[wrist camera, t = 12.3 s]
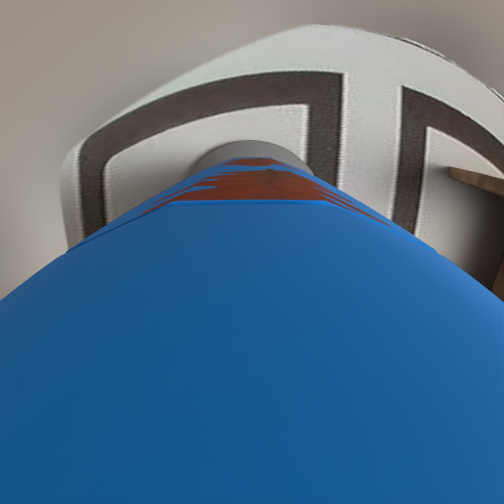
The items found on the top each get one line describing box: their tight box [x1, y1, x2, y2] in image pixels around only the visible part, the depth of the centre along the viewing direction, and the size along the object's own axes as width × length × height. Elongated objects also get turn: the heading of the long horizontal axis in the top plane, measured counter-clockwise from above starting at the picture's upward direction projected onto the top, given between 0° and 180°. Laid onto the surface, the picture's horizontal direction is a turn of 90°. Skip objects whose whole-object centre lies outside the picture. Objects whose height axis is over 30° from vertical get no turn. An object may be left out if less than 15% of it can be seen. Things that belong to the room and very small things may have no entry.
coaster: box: [188, 140, 314, 178], centre depth 27 cm, size 13×13×1 cm
